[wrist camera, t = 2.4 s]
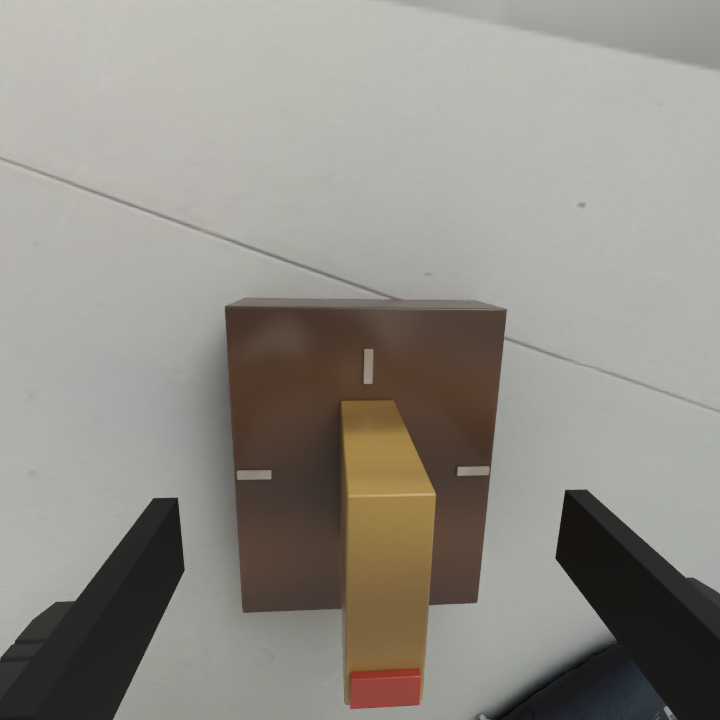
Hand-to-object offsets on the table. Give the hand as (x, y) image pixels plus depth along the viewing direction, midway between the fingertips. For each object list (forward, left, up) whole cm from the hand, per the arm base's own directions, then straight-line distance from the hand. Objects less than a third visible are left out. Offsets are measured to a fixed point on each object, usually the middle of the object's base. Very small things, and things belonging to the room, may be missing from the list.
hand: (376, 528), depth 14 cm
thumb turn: (0, 0, -4) cm, 4 cm away
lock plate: (0, 0, -7) cm, 7 cm away
